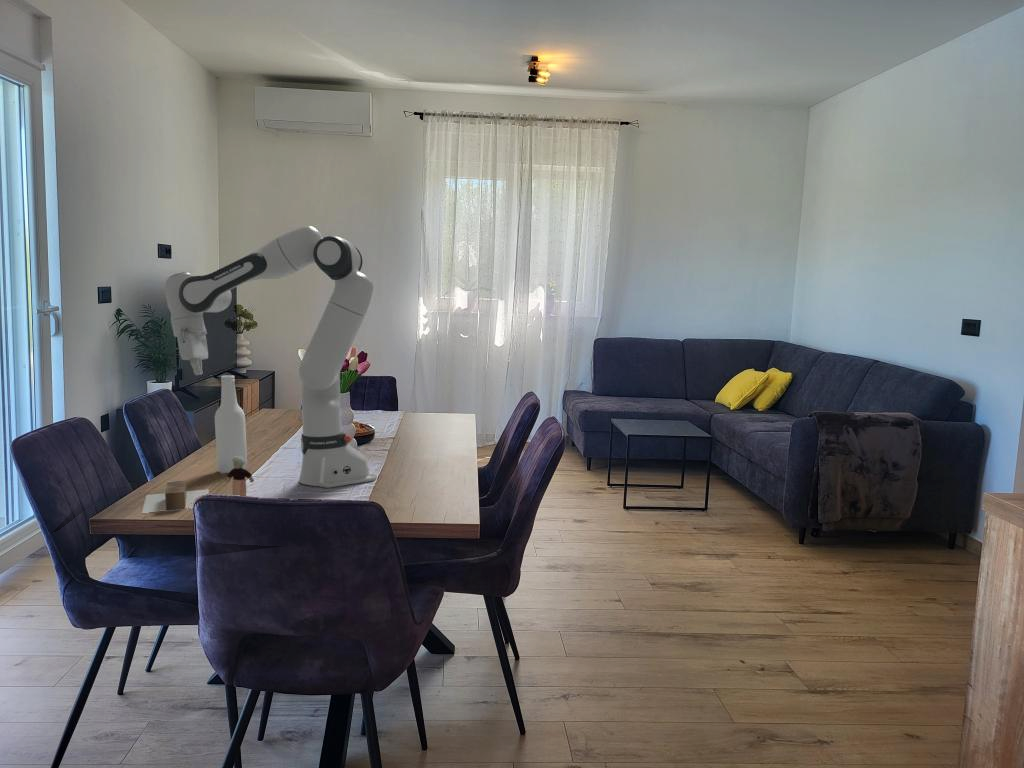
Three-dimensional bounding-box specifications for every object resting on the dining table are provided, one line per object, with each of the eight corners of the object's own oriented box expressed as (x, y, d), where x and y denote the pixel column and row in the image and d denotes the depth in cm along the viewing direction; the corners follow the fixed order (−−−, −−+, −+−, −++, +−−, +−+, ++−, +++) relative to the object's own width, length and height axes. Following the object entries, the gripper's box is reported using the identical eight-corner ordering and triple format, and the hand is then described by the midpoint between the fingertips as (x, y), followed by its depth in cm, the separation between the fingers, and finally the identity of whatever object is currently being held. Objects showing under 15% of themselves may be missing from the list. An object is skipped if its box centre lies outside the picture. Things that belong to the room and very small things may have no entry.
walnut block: (185, 480, 211) (184, 491, 200) (186, 496, 212) (185, 508, 201) (167, 481, 209) (165, 493, 198) (168, 498, 210) (166, 510, 199)
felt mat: (208, 490, 219) (208, 489, 219) (208, 508, 202) (208, 506, 202) (146, 496, 213) (146, 495, 213) (141, 515, 196) (141, 513, 196)
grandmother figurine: (224, 503, 206) (221, 457, 205) (228, 499, 210) (225, 454, 208) (253, 503, 207) (251, 457, 205) (256, 499, 211) (254, 453, 209)
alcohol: (216, 475, 235) (210, 378, 231) (219, 468, 244) (213, 374, 239) (246, 473, 238) (241, 377, 233) (248, 466, 246) (243, 373, 242)
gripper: (191, 324, 218) (201, 372, 218) (207, 328, 238) (216, 372, 238) (168, 328, 217) (178, 377, 217) (186, 332, 237) (195, 376, 237)
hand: (198, 374), depth 228 cm, fingers closed
